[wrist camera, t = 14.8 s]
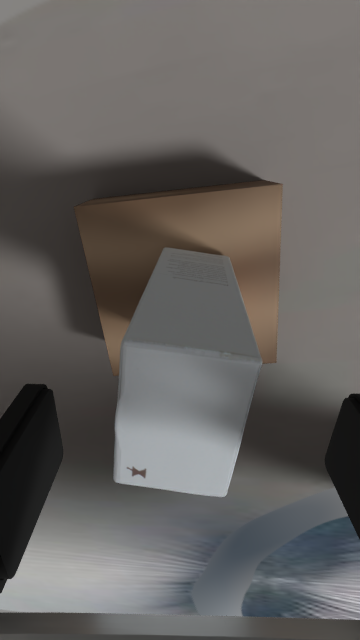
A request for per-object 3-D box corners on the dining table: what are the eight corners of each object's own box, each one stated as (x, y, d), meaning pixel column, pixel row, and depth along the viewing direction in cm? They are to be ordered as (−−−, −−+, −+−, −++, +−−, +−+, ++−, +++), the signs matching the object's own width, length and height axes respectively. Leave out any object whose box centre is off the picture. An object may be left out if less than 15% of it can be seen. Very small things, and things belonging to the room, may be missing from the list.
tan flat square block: (261, 330, 28) (276, 362, 23) (124, 342, 28) (113, 375, 24) (262, 179, 23) (282, 184, 18) (94, 198, 23) (73, 206, 19)
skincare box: (215, 338, 22) (226, 503, 11) (154, 330, 22) (108, 486, 11) (232, 252, 19) (268, 361, 9) (163, 242, 20) (113, 340, 9)
